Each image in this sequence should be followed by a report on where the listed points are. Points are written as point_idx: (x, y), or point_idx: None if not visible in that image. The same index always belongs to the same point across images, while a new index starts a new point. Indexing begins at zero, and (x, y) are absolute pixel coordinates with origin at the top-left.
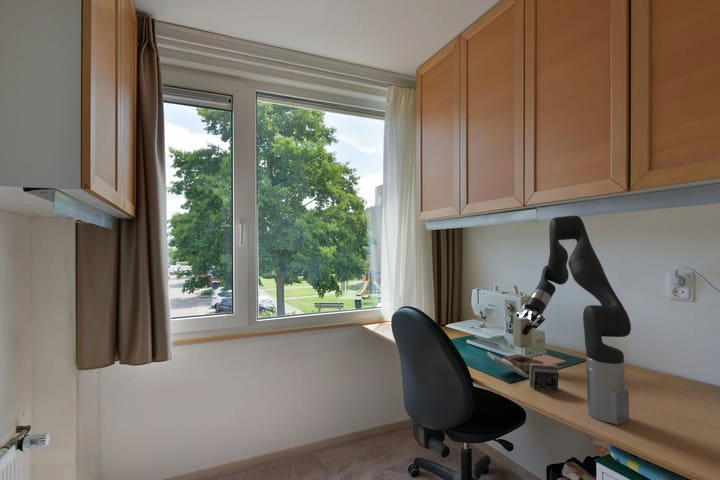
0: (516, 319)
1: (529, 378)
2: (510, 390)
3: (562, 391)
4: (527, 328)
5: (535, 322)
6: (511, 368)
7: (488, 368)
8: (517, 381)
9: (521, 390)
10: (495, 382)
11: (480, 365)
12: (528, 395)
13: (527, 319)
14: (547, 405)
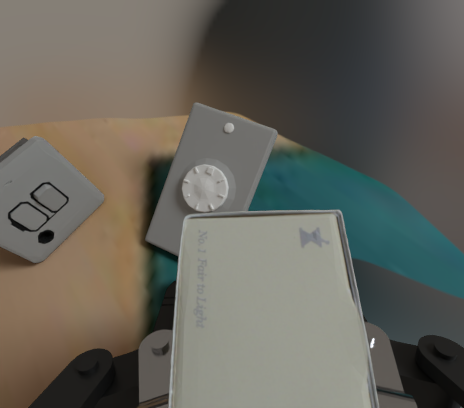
0: (267, 215)
1: (88, 180)
2: (117, 129)
3: (14, 255)
4: (166, 313)
5: (37, 401)
6: (169, 176)
7: (284, 187)
8: (148, 190)
9: (99, 153)
10: (177, 130)
11: (321, 182)
12: (69, 146)
13: (172, 367)
14: (7, 144)
